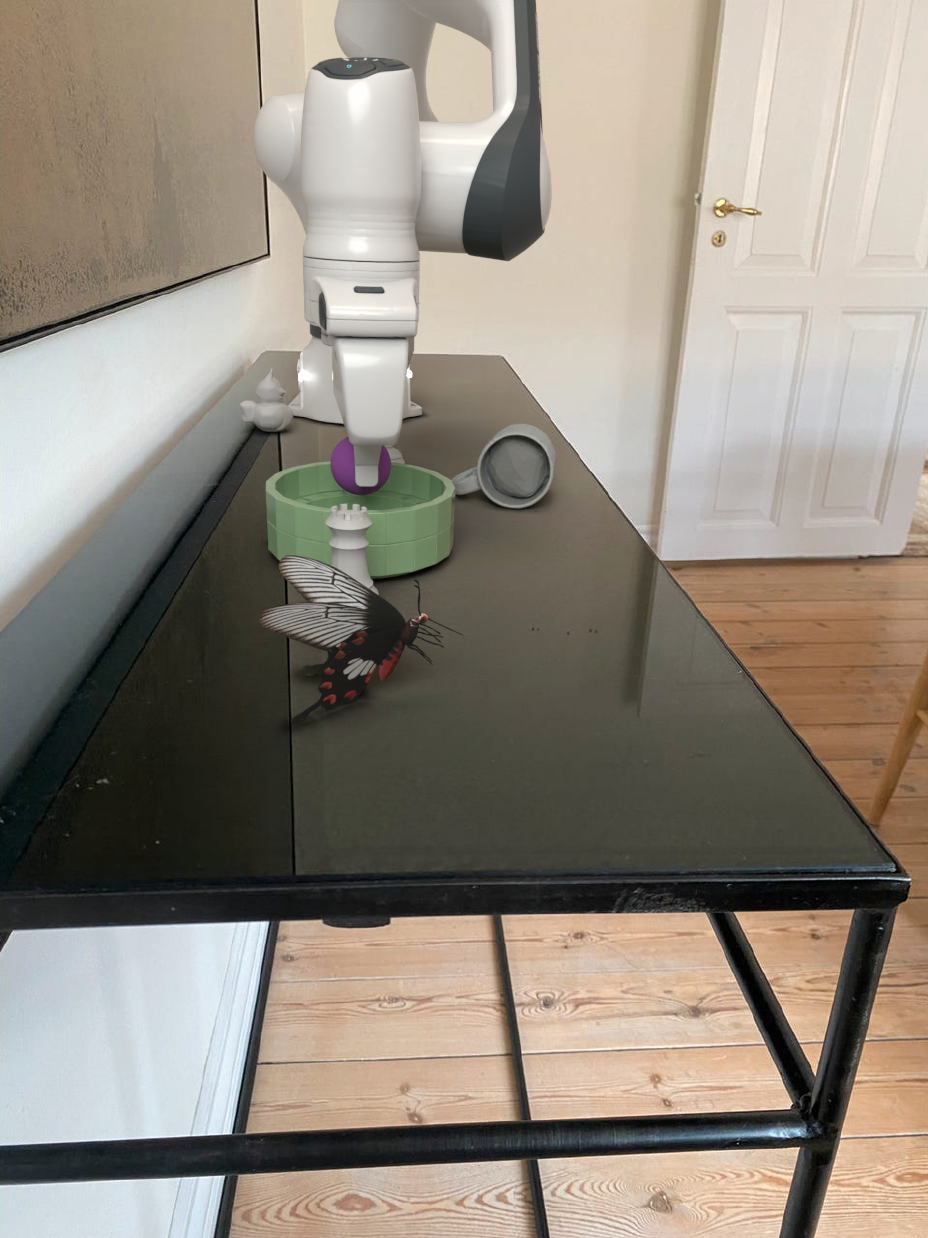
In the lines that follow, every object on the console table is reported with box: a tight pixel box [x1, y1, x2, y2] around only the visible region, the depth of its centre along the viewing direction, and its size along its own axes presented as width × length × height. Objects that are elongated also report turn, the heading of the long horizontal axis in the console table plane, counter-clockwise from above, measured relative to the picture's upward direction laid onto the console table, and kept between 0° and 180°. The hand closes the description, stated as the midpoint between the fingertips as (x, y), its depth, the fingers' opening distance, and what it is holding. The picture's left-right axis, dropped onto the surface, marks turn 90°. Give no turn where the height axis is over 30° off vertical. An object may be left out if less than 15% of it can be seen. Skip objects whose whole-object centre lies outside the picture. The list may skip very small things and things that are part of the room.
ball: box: [330, 436, 391, 495], centre depth 77 cm, size 5×5×5 cm
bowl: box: [265, 460, 456, 580], centre depth 79 cm, size 16×16×6 cm
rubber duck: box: [239, 368, 294, 433], centre depth 117 cm, size 5×7×8 cm
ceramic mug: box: [450, 423, 557, 509], centre depth 95 cm, size 11×8×8 cm
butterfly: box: [258, 555, 464, 725], centre depth 54 cm, size 11×8×10 cm
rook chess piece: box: [325, 504, 380, 596], centre depth 66 cm, size 4×4×8 cm
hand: (362, 473), depth 77 cm, fingers closed on ball, 5 cm apart
